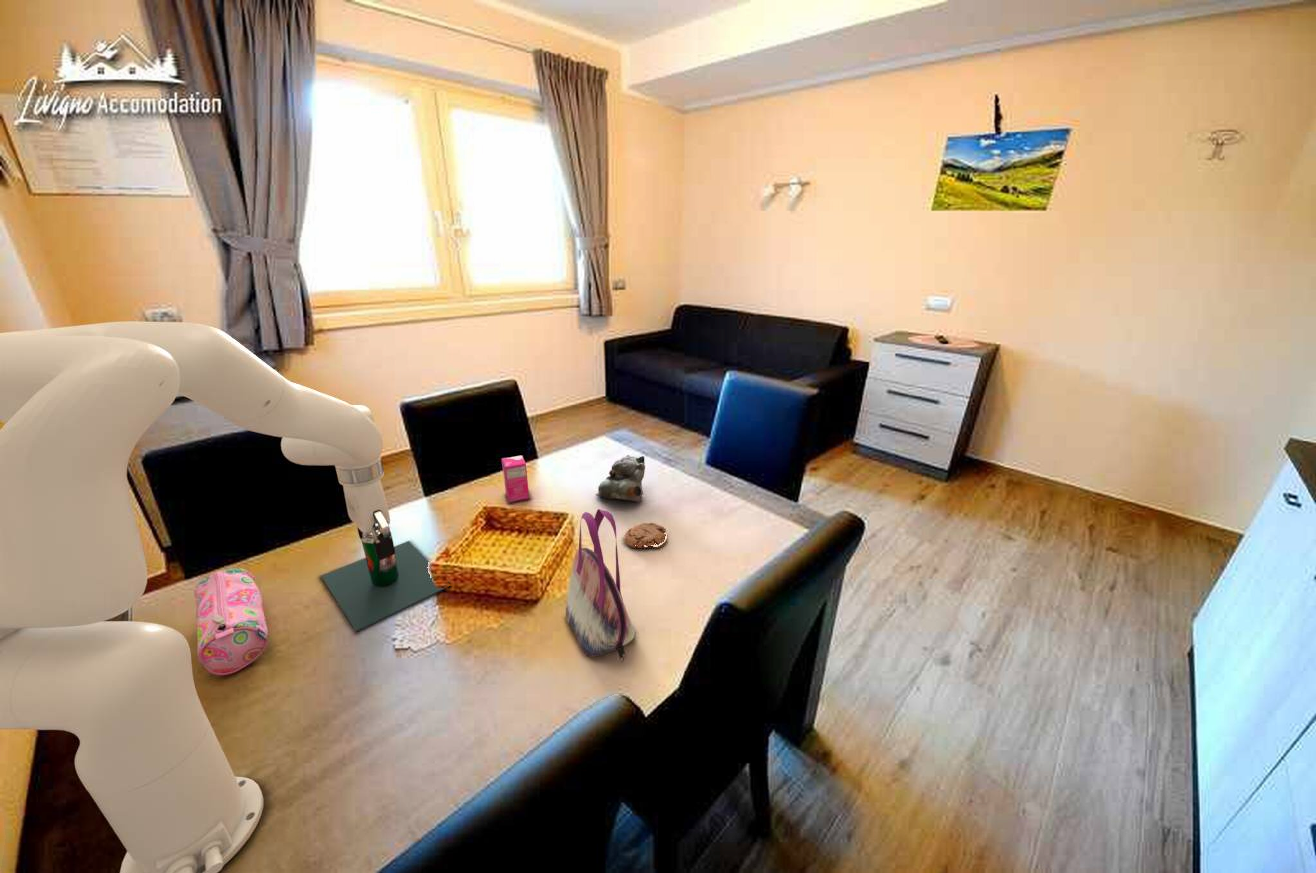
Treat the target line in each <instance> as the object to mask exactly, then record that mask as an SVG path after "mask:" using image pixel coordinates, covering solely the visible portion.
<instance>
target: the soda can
mask: <svg viewBox="0 0 1316 873" xmlns="http://www.w3.org/2000/svg"><path fill="white" fill-rule="evenodd" d="M376 533H377V535H379V533H381V531H380V529H379V530H376ZM362 536H363V537H362V539H360V540H361V544H362V549H363V552H364V557H365V558H366V562H367V566H368V570H369V574H370V578H371V582H372V584H373V585H375V586H378V587H383V586H388V585H390V584H392V583H393V582H395V581H396V579H397V578H398V576H399V573H398V569H397V564H396V559H395V554H394V555H391V556H389V557H386V558H384V559H381V560H378V559H377V556H376V552H375V547H374V543H373V542H375V540H374V537H373V535H372V532H371V531H370V532H368V533H363V534H362Z"/></svg>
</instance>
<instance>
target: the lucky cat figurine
mask: <svg viewBox="0 0 1316 873" xmlns="http://www.w3.org/2000/svg"><path fill="white" fill-rule="evenodd" d="M645 472H646V463H645V456H644V455H642V456H638V457H636V456H634V455H630V454H629V455H628V454H627V455H626V456H623V457H621V458H620V459H617V460H615V462H614V463H613V464H612V466H611V469H610V470H609V471H608V475H609V476H607V477H606V478H605V479H603V481H602V482H601V483H600V484H599V485H598V487H597V489H598V491H597V493H595V494H594V495H595V496H596V497H599V498H600V497H603V498H607V499H618V500H625V501H632V502H639V503H641V502H642V499H643V497H642V495H643V496H644V490H643V484H642V483H643V479H644V478H645Z"/></svg>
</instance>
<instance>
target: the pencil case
mask: <svg viewBox="0 0 1316 873" xmlns="http://www.w3.org/2000/svg"><path fill="white" fill-rule="evenodd" d="M193 594H194V598H195V606H196V610H195V618H196V621H197V622H196V641H197V642H196V643H197V647H196V648H197V650H196V653H197V655H196V656H197V659H198V661H199V662H200V665H201V666H202V667H204V669H205V670H206V671H208V672H209V673H211V674H213V675H216V676H228V675H231V674H234V673H237V672H239V671H240V670H242V669H244V668H246V667H247V666H250V664H252V663H253V662H255V661H256V660H257V659H258V658H259V657H261V655H262V654H263V653H264V651H265V650H266V648H267V646H268V643H269V629H268V626H267V620H266V616H265V612H264V604H263V596H262V593H261V591H260V590H259V587H258V585H257V584H256V579H255V576H254V575H253V574H252V573H251V572H250V571H249V570H247V569H245V568H241V567H235V568H234V567H233V568H228V569H224V570H220V571H215V572H214V573H213V574H210V575H209V576H207V577H205V578H204V579H202V580H201V581H200V582H199V583H197V584H196V586H195V588H194V592H193Z"/></svg>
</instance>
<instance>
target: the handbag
mask: <svg viewBox="0 0 1316 873" xmlns="http://www.w3.org/2000/svg"><path fill="white" fill-rule="evenodd" d="M604 518H606V520H607V521H608V522H609V523H610V525H611V527H612V529H613V532H614V536H615V538H617V525H616V521H615V518H614V516H613V515H612V514H611V512H610V511H608V510H605V509H604V510H603V509H600V508H597V510H596V513H595V515H594V516H593V515H592V514H591V513H590V512H587V511H585V512H583V513H582V515H581V518H580V520H582V519H583V520H584V521H585V523H586V525H587V528H588V532H589V537H590V539H591V542H592V545H593V550H592V549H590V548H589V547H582V546H583V545H582V521H580V522H579V534H578V535H579V537H578V549H577V550H576V552H575V554H574V556H573V561H572V566H571V571H570V578H569V582H568V583H569V584H568V591H567V598H566V603H565V604H566V606H565V616H566V621H567V623H568V625H569V627H570V629H571V630H572V633H573V634H574V636H575V638H576V640H577V642H578V643H579V646H580V647H581V649H582V651H583V653H584V654H585V655H586V656H587V657H598V656H603V655H606V654H608V653H611V652H614V651H617V652H618V656H619V660H620V662H621V663H623V662H625V659H626V658H627V654H626V652H625V648H624V646H625V645H627V644H629V643H631V642H632V641H633V640H634V639H635V637H636V632H635V628H634V626H633V623H632V621H631V618H630V617H629V614H628V611H627V609H626V605H625V603H624V600H623V596H622V591H621V576H620V575H621V574H620V566H619V554H618V553H619V552H618V544H617V541H615V579H614V577H613V576H612V574H611V571H610V570H609V568H608V567H607V566H606V564H605V562H604V555H603V551H602V546H601V541H600V536H599V529H600V527H601V524H602V522H603V520H604Z"/></svg>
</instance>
